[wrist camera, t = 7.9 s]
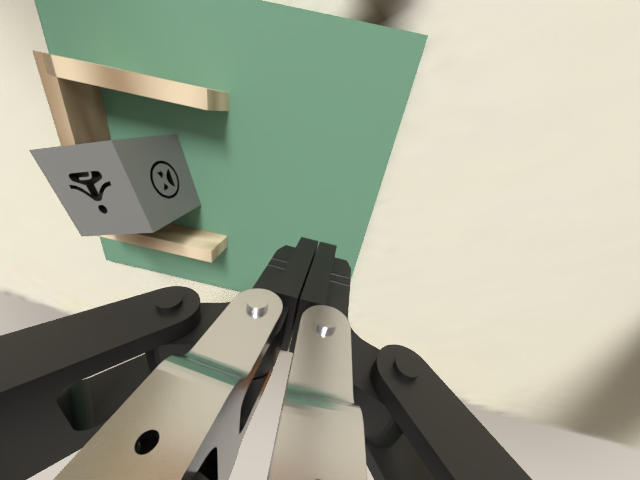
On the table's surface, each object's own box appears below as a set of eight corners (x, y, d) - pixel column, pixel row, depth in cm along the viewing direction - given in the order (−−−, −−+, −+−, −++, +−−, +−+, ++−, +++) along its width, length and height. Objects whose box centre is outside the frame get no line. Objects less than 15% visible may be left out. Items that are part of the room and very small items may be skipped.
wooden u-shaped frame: (229, 92, 15) (207, 88, 12) (227, 246, 20) (211, 262, 18) (80, 60, 15) (32, 50, 13) (116, 220, 20) (87, 233, 18)
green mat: (426, 37, 13) (427, 35, 12) (339, 312, 22) (339, 315, 22) (27, -48, 13) (20, -51, 13) (109, 258, 22) (106, 259, 22)
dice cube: (177, 133, 16) (110, 140, 12) (201, 204, 18) (153, 232, 14) (113, 141, 17) (29, 150, 13) (144, 208, 19) (81, 236, 15)
